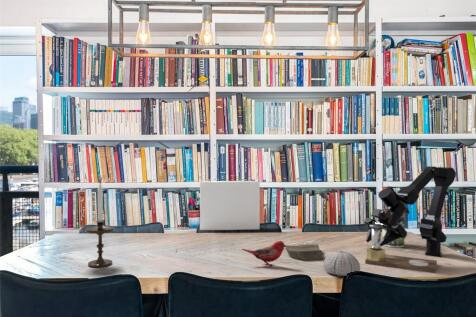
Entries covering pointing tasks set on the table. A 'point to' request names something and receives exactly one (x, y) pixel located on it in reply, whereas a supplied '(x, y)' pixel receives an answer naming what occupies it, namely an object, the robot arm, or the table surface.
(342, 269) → the sea urchin shell
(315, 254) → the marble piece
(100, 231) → the candlestick
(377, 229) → the silver flared column
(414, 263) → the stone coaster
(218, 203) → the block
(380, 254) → the brass collar
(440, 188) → the robot arm
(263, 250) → the decorative bird figurine
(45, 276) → the table surface
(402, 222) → the coffee can
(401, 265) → the walnut board
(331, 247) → the table surface
